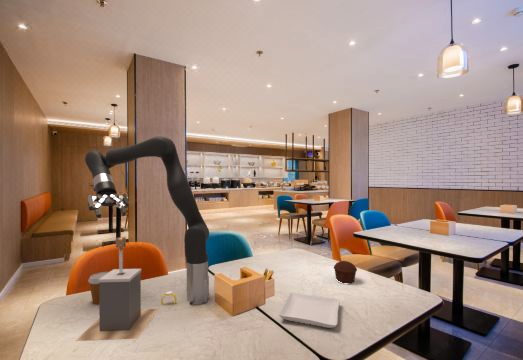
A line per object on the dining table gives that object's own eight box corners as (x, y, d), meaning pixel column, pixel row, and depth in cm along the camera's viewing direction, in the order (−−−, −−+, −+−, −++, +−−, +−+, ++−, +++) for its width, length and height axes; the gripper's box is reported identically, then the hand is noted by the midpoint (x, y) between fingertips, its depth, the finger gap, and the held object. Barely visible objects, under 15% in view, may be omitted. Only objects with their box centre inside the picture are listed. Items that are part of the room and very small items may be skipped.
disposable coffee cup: (102, 309, 109) (102, 280, 109) (82, 307, 111) (82, 278, 111) (119, 299, 118) (119, 272, 118) (100, 297, 120) (100, 270, 120)
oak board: (158, 311, 107) (158, 308, 107) (138, 341, 87) (138, 338, 87) (107, 312, 106) (107, 310, 106) (75, 343, 86) (75, 340, 86)
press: (141, 315, 102) (141, 268, 102) (129, 330, 92) (129, 278, 92) (110, 316, 101) (109, 269, 101) (94, 331, 91) (94, 279, 91)
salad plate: (340, 306, 111) (339, 298, 111) (337, 334, 91) (337, 324, 91) (290, 299, 118) (290, 291, 118) (277, 324, 98) (277, 314, 98)
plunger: (134, 290, 100) (134, 235, 100) (126, 298, 93) (126, 240, 93) (116, 290, 100) (115, 236, 100) (106, 299, 93) (106, 240, 93)
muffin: (359, 279, 140) (359, 261, 140) (354, 287, 130) (354, 266, 130) (336, 275, 146) (336, 257, 146) (330, 282, 137) (330, 262, 137)
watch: (176, 305, 113) (177, 291, 113) (175, 308, 110) (176, 293, 110) (161, 305, 112) (162, 291, 112) (160, 308, 110) (161, 293, 110)
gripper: (86, 180, 106) (92, 211, 98) (124, 180, 116) (133, 208, 108) (83, 193, 110) (89, 223, 102) (121, 191, 120) (129, 219, 112)
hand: (112, 215), depth 105 cm, fingers open, 8 cm apart
